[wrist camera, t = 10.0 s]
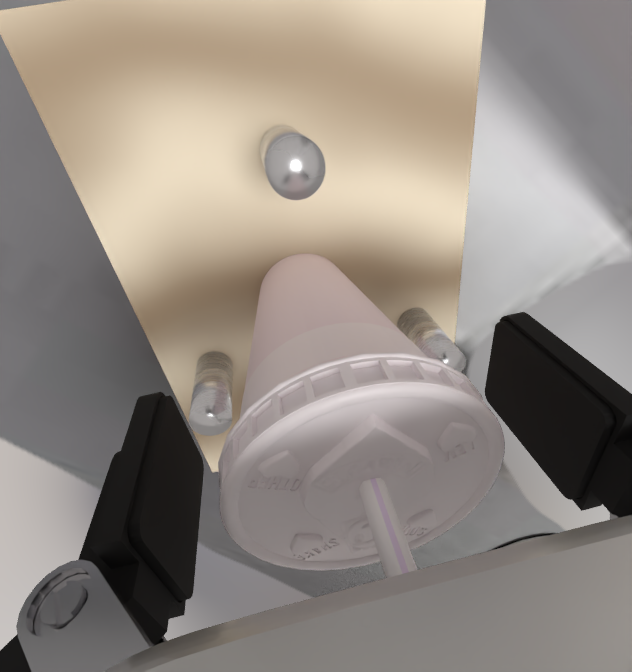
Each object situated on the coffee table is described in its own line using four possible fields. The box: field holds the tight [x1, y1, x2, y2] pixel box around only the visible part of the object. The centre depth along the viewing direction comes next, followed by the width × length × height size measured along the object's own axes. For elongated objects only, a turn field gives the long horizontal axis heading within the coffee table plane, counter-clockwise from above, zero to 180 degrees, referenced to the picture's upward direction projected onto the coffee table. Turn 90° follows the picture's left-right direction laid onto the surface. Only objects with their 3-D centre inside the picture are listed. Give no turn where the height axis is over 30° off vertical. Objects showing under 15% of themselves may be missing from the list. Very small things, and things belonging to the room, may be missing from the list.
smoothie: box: [218, 253, 505, 578], centre depth 10 cm, size 6×6×14 cm
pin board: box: [0, 0, 486, 472], centre depth 15 cm, size 20×14×5 cm
